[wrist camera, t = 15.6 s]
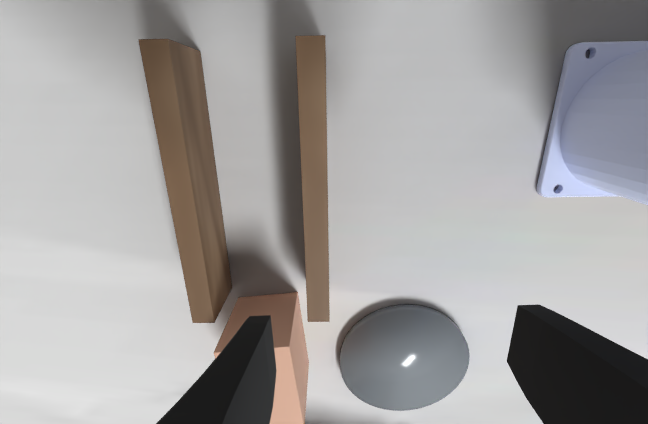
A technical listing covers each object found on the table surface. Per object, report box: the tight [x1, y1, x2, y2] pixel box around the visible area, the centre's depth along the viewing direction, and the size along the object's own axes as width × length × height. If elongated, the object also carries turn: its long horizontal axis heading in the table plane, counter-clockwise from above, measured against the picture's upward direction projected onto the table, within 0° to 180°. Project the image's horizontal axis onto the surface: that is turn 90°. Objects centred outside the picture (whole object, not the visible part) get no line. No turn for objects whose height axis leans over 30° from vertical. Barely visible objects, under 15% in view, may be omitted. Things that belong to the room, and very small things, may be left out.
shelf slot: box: [139, 35, 329, 323], centre depth 17 cm, size 8×14×4 cm, turn 1°
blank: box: [214, 292, 309, 424], centre depth 20 cm, size 4×6×5 cm, turn 6°
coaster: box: [340, 305, 469, 411], centre depth 22 cm, size 9×9×1 cm
